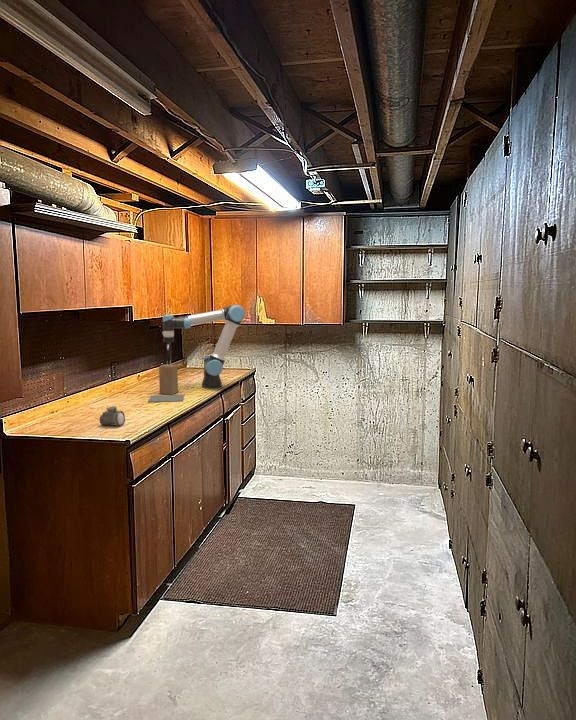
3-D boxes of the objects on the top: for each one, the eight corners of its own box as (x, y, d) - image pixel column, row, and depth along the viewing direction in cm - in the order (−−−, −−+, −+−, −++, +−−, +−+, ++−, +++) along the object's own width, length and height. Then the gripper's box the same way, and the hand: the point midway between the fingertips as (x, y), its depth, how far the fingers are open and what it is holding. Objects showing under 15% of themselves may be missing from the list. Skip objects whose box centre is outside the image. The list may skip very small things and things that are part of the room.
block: (172, 394, 381) (172, 366, 379) (159, 394, 383) (158, 365, 381) (178, 392, 391) (177, 364, 389) (165, 391, 393) (164, 364, 391)
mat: (184, 395, 379) (184, 394, 379) (182, 401, 357) (182, 400, 357) (151, 396, 376) (151, 395, 376) (147, 402, 354) (147, 401, 354)
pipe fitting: (127, 423, 294) (123, 404, 292) (119, 428, 286) (115, 409, 285) (107, 424, 297) (103, 406, 295) (99, 429, 289) (95, 410, 288)
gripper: (163, 336, 398) (164, 368, 400) (162, 337, 385) (162, 370, 387) (174, 336, 399) (175, 368, 401) (173, 337, 386) (173, 370, 388)
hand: (169, 369), depth 394 cm, fingers closed
